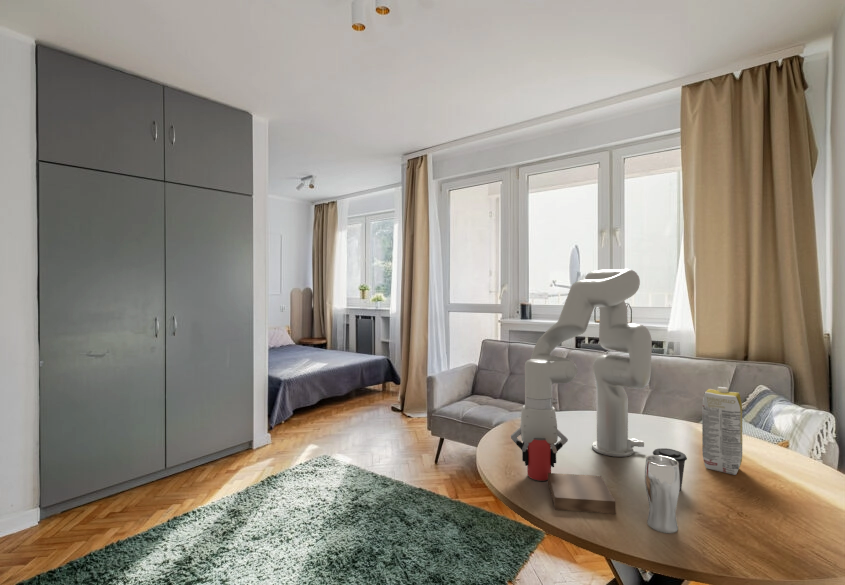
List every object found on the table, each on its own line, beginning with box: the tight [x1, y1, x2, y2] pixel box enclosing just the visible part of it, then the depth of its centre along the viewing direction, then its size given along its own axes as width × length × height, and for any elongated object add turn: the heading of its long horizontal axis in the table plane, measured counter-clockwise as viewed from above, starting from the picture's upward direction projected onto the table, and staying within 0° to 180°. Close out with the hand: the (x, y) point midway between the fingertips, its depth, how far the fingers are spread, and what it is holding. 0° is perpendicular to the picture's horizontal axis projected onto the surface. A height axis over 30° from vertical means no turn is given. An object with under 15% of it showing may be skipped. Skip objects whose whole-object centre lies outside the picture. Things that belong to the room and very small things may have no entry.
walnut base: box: [547, 472, 617, 515], centre depth 111 cm, size 14×14×3 cm
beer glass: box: [644, 454, 680, 534], centre depth 98 cm, size 7×7×15 cm
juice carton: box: [701, 386, 743, 476], centre depth 127 cm, size 9×8×24 cm
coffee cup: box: [652, 448, 688, 493], centre depth 116 cm, size 8×8×10 cm
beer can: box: [526, 438, 552, 482], centre depth 124 cm, size 7×7×12 cm
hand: (539, 464), depth 124 cm, fingers closed on beer can, 6 cm apart
